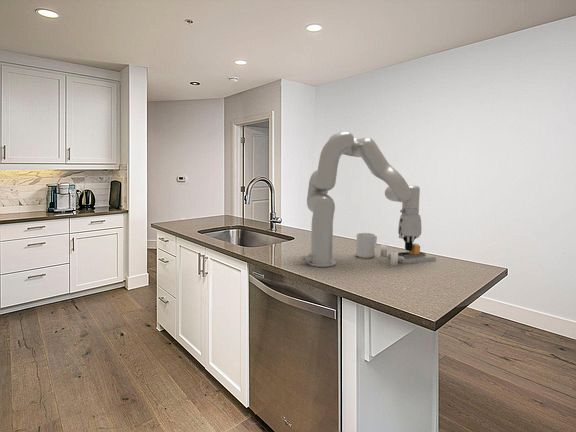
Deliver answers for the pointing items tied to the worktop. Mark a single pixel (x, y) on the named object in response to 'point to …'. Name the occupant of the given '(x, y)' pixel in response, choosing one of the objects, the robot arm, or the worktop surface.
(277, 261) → the worktop surface
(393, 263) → the post near
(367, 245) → the mug
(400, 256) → the panel
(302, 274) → the worktop surface
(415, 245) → the toggle
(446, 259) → the worktop surface
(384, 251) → the post far
